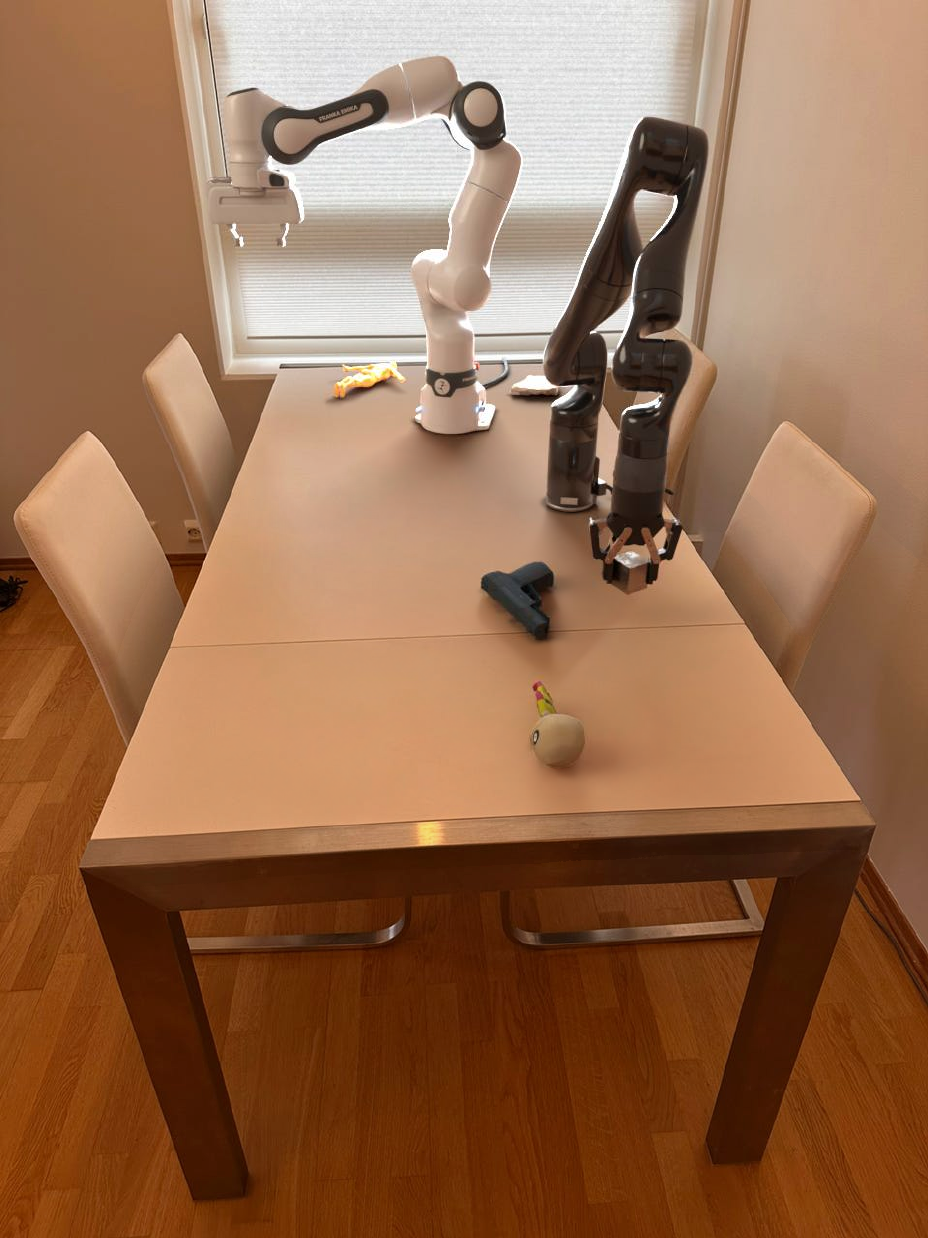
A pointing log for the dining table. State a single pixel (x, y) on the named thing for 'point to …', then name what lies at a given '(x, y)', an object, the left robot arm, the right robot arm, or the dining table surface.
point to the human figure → (367, 376)
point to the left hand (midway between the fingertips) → (260, 245)
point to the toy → (555, 733)
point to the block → (630, 572)
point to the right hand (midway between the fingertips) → (629, 581)
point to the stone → (534, 386)
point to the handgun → (522, 594)
